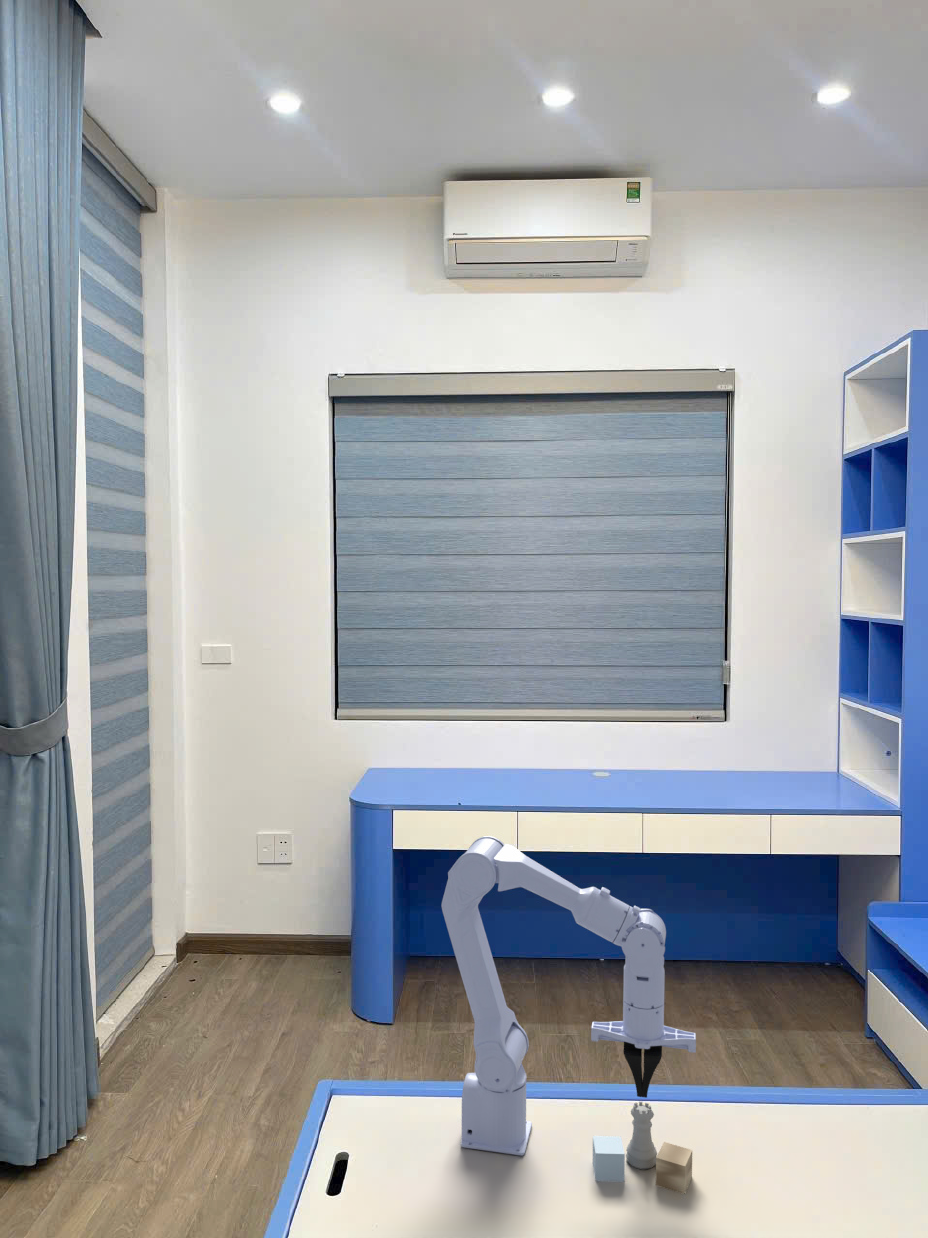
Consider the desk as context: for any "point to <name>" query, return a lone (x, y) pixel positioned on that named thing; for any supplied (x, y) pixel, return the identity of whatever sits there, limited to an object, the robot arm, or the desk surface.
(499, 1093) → the robot arm
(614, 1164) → the pale blue block
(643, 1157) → the rook chess piece
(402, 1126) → the desk surface
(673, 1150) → the beech block
